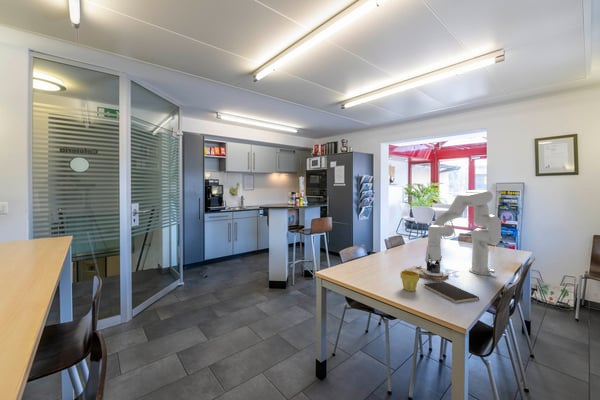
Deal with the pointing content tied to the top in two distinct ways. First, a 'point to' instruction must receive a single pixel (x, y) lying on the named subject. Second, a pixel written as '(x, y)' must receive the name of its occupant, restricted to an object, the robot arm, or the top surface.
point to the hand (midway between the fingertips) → (433, 269)
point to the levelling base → (421, 274)
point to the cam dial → (433, 271)
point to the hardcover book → (451, 292)
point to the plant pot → (409, 280)
